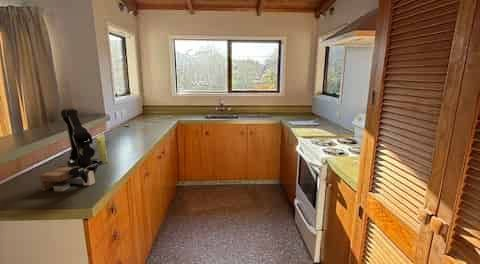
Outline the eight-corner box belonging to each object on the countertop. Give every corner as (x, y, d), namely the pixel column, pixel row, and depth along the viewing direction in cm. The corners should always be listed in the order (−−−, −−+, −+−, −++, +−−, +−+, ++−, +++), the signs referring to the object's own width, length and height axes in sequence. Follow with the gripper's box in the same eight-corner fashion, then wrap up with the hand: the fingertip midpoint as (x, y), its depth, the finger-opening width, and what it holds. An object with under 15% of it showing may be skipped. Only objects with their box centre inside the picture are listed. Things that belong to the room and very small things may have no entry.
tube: (107, 163, 178) (103, 135, 174) (99, 164, 176) (94, 136, 172) (108, 160, 183) (104, 133, 179) (99, 161, 181) (95, 134, 177)
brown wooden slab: (63, 180, 151) (60, 166, 149) (82, 180, 150) (79, 166, 148) (42, 190, 138) (39, 175, 136) (62, 191, 136) (59, 176, 134)
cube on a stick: (69, 181, 149) (67, 169, 148) (95, 182, 147) (93, 170, 145) (63, 184, 145) (61, 172, 144) (90, 185, 143) (88, 173, 141)
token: (61, 187, 142) (60, 182, 142) (70, 187, 142) (69, 182, 141) (54, 191, 137) (53, 186, 137) (63, 191, 137) (62, 186, 136)
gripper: (83, 148, 152) (87, 174, 155) (56, 159, 134) (62, 188, 137) (100, 149, 150) (104, 174, 153) (76, 160, 132) (81, 188, 135)
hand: (88, 181), depth 145 cm, fingers closed on cube on a stick, 4 cm apart
